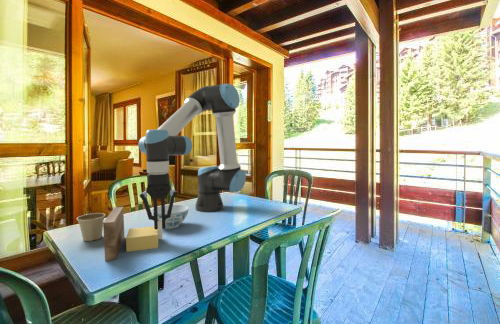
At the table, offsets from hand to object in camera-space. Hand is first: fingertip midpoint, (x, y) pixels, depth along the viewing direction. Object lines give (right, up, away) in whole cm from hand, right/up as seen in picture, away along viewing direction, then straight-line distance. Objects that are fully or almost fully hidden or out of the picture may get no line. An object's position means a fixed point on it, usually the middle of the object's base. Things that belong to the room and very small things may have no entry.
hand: (160, 237), depth 95 cm
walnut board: (-14, -2, -4) cm, 15 cm away
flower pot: (-28, -2, +5) cm, 28 cm away
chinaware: (-2, -1, +19) cm, 19 cm away
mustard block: (-6, -2, -1) cm, 6 cm away
